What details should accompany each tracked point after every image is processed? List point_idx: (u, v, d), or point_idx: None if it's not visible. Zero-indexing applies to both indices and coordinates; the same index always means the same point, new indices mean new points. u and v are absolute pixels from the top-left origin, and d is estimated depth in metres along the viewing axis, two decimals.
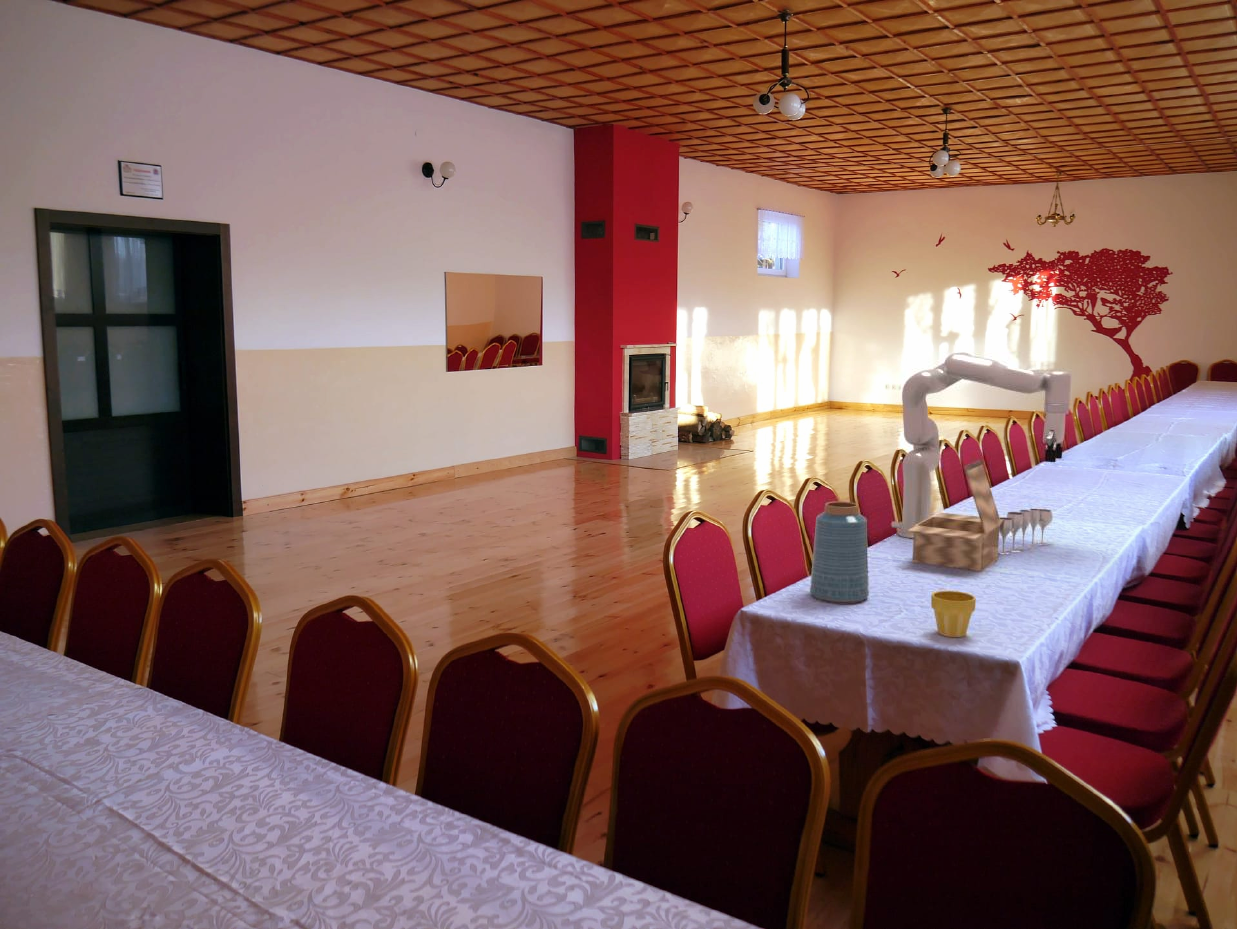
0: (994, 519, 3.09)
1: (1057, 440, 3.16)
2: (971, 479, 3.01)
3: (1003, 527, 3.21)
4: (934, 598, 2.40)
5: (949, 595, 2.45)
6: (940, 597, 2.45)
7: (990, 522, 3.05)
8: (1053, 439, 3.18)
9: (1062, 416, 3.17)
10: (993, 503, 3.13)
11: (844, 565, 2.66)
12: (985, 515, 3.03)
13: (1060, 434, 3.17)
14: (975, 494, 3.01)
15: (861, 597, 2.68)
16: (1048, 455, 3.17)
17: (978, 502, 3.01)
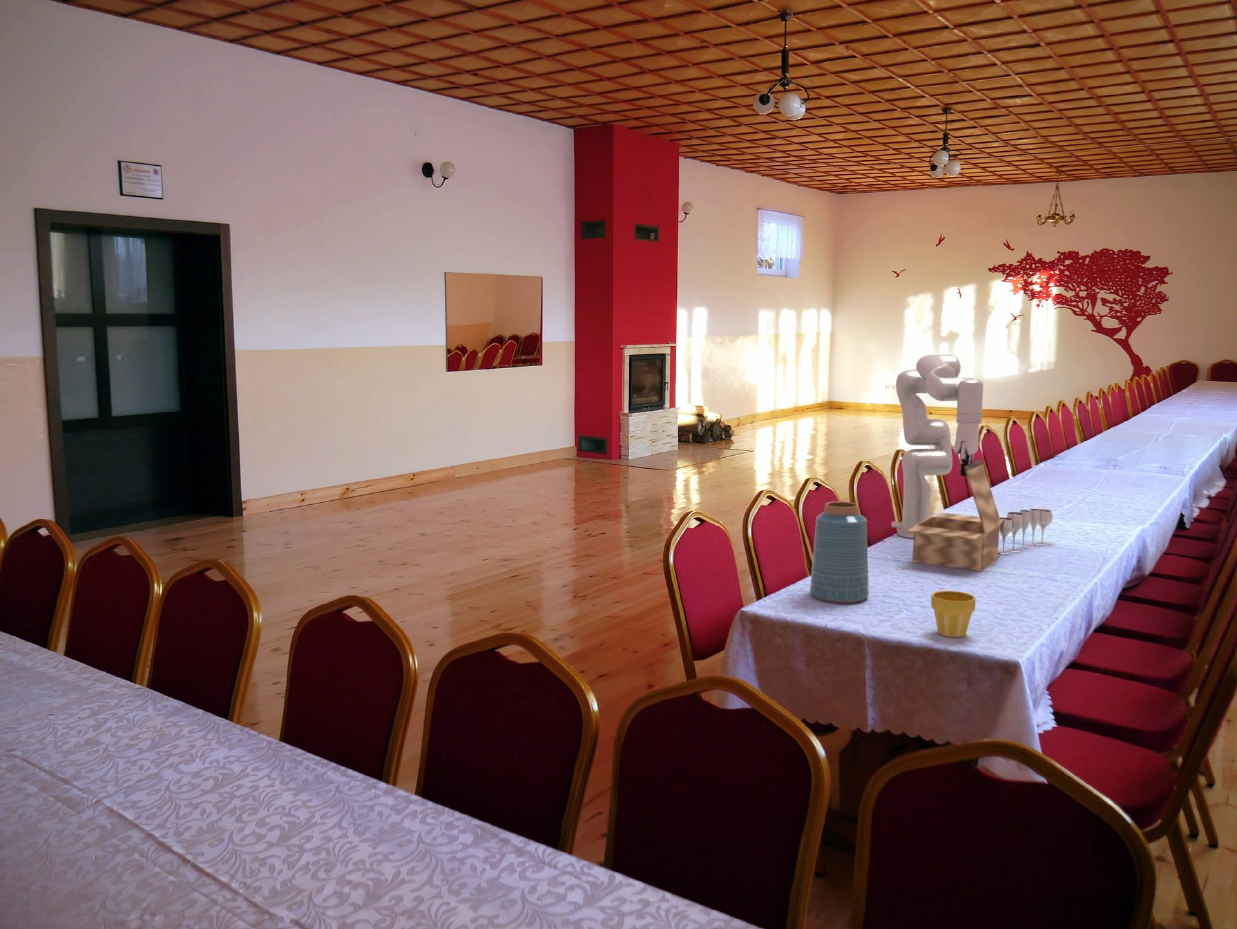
0: (994, 519, 3.09)
1: (969, 451, 3.03)
2: (971, 479, 3.01)
3: (1003, 527, 3.21)
4: (934, 598, 2.40)
5: (949, 595, 2.45)
6: (940, 597, 2.45)
7: (990, 522, 3.05)
8: None
9: (974, 426, 3.04)
10: (993, 503, 3.13)
11: (844, 565, 2.66)
12: (985, 515, 3.03)
13: (972, 445, 3.04)
14: (975, 494, 3.01)
15: (861, 597, 2.68)
16: (963, 469, 3.08)
17: (978, 502, 3.01)
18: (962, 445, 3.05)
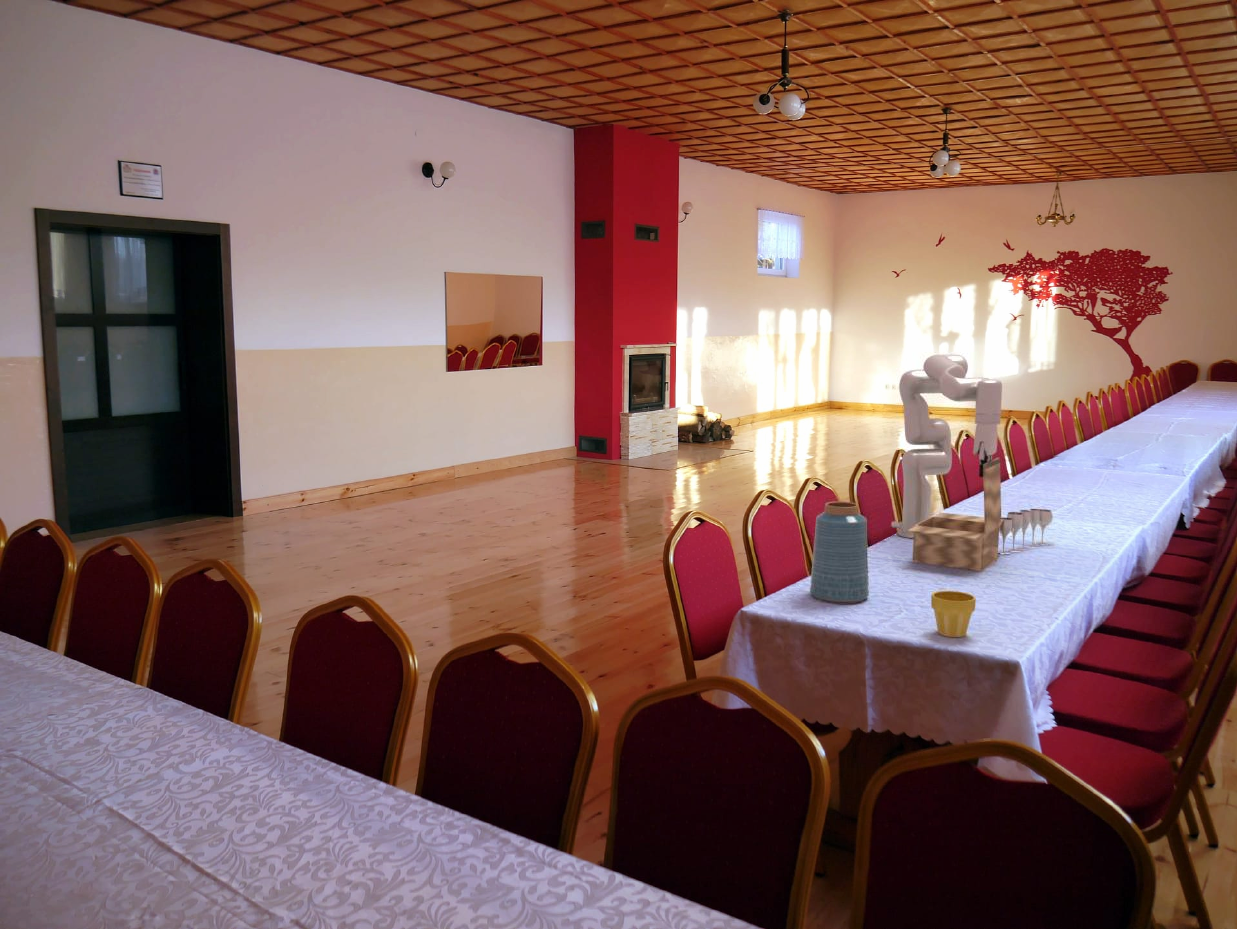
0: (996, 520, 3.09)
1: (987, 452, 3.00)
2: (986, 478, 2.99)
3: (1003, 527, 3.21)
4: (934, 598, 2.40)
5: (949, 595, 2.45)
6: (940, 597, 2.45)
7: (992, 522, 3.05)
8: None
9: (993, 427, 3.01)
10: (999, 503, 3.11)
11: (844, 565, 2.66)
12: (990, 515, 3.02)
13: (991, 446, 3.01)
14: (986, 493, 2.99)
15: (861, 597, 2.68)
16: (982, 470, 3.05)
17: (987, 502, 2.99)
18: (981, 446, 3.01)
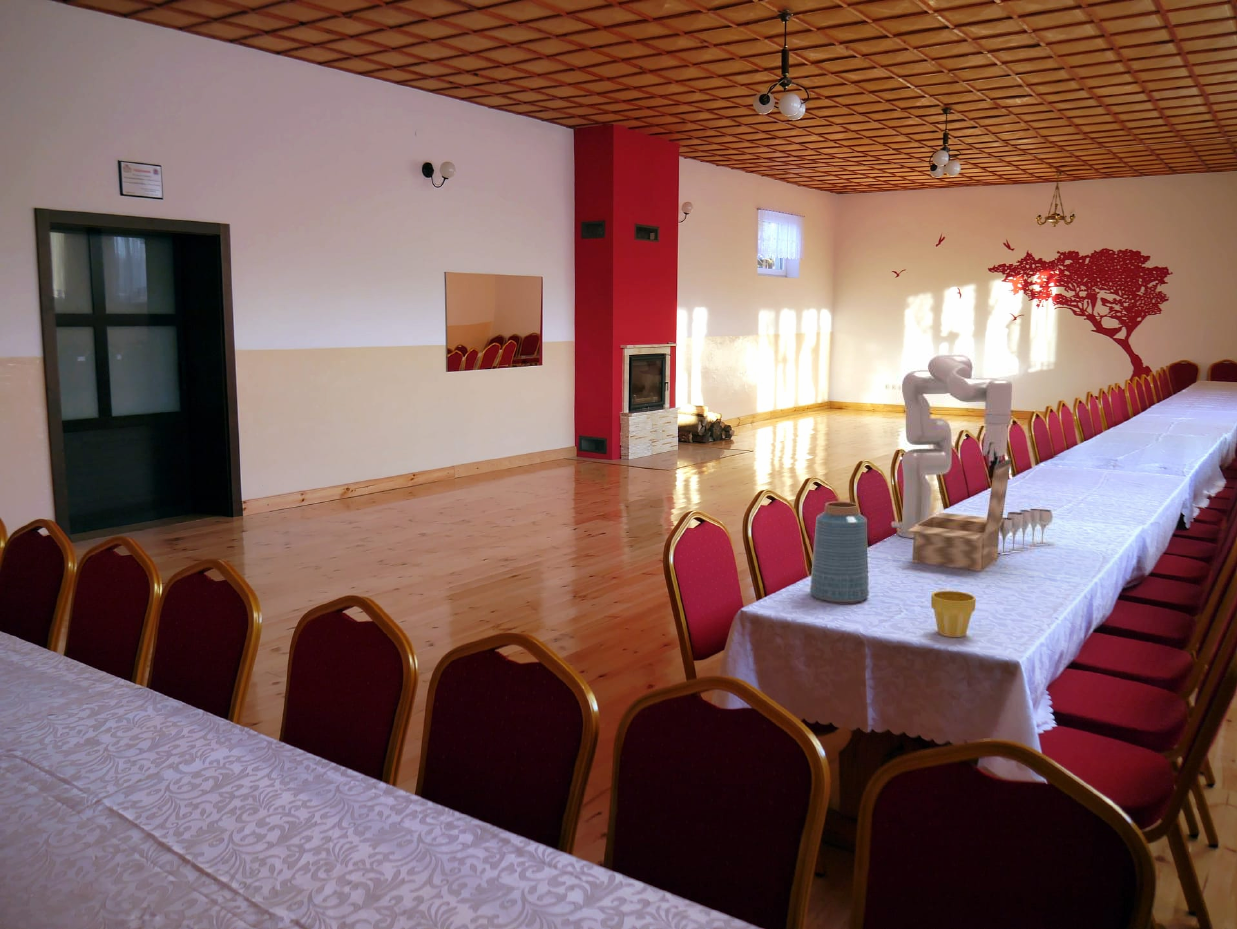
0: (997, 520, 3.08)
1: (997, 453, 2.98)
2: (995, 479, 2.97)
3: (1003, 527, 3.21)
4: (934, 598, 2.40)
5: (949, 595, 2.45)
6: (940, 597, 2.45)
7: (994, 523, 3.05)
8: None
9: (1003, 428, 2.99)
10: (1003, 504, 3.11)
11: (844, 565, 2.66)
12: (992, 516, 3.02)
13: (1001, 447, 2.99)
14: (993, 494, 2.98)
15: (861, 597, 2.68)
16: (992, 471, 3.03)
17: (992, 503, 2.99)
18: (991, 447, 3.00)
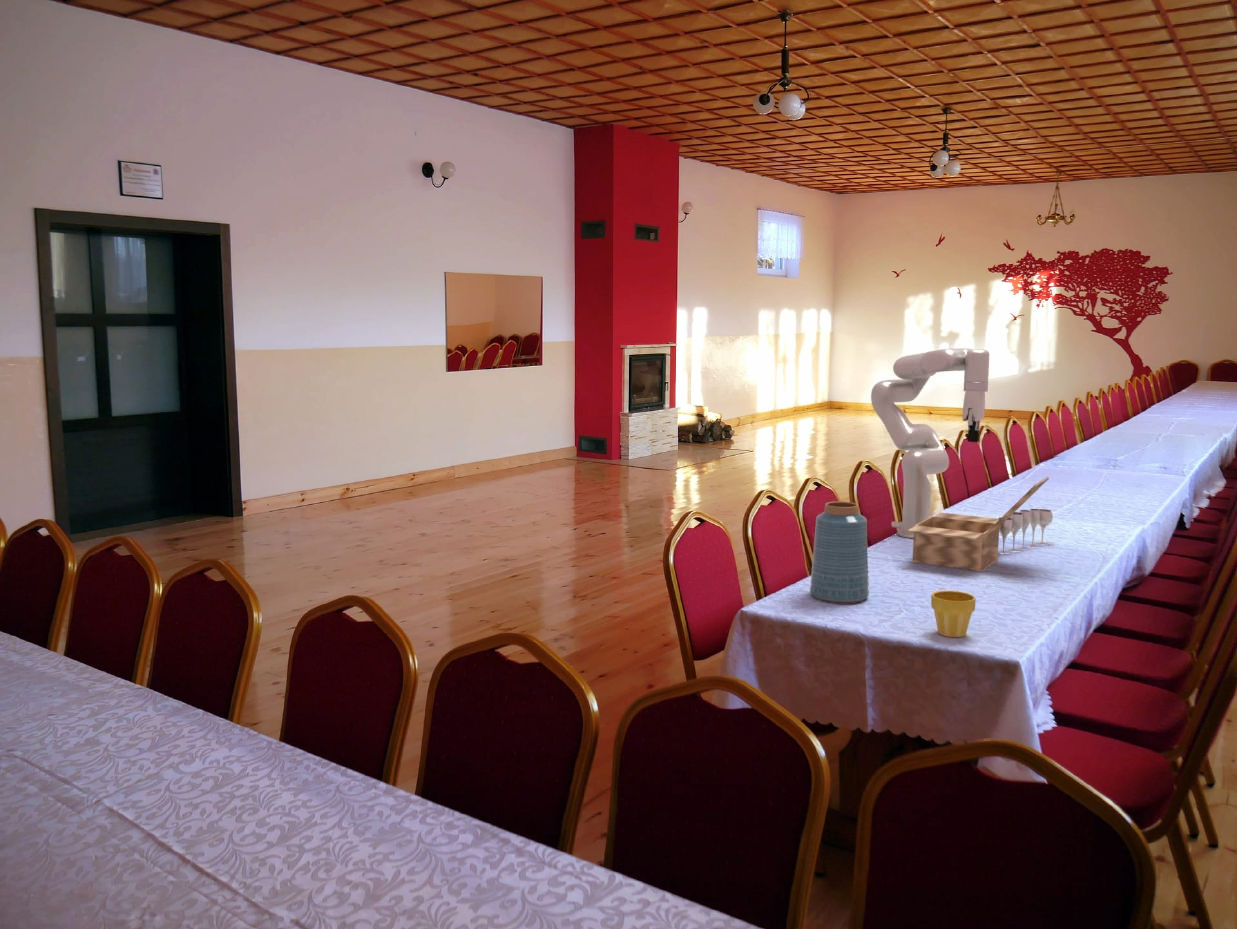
0: (1001, 523, 3.08)
1: (975, 418, 3.18)
2: (1026, 496, 2.92)
3: (1003, 527, 3.21)
4: (934, 598, 2.40)
5: (949, 595, 2.45)
6: (940, 597, 2.45)
7: (997, 526, 3.04)
8: None
9: (981, 394, 3.19)
10: None
11: (844, 565, 2.66)
12: (1001, 521, 3.00)
13: (979, 412, 3.19)
14: (1015, 507, 2.94)
15: (861, 597, 2.68)
16: (970, 435, 3.23)
17: None
18: (969, 412, 3.20)
